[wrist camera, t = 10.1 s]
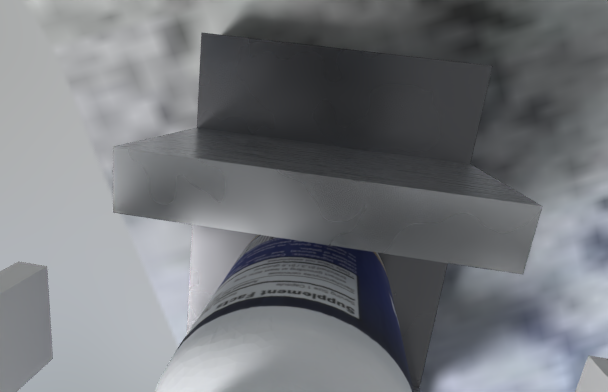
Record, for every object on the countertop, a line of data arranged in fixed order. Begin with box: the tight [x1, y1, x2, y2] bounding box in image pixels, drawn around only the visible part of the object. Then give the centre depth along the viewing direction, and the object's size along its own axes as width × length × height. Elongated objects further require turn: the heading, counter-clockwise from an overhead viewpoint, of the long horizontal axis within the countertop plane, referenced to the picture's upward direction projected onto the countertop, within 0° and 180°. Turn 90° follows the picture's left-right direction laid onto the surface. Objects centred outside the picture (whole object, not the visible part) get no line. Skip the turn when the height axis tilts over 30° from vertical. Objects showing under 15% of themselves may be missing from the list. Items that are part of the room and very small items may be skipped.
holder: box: [113, 33, 542, 392], centre depth 13 cm, size 16×9×6 cm, turn 173°
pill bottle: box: [155, 235, 414, 392], centre depth 10 cm, size 5×5×10 cm
